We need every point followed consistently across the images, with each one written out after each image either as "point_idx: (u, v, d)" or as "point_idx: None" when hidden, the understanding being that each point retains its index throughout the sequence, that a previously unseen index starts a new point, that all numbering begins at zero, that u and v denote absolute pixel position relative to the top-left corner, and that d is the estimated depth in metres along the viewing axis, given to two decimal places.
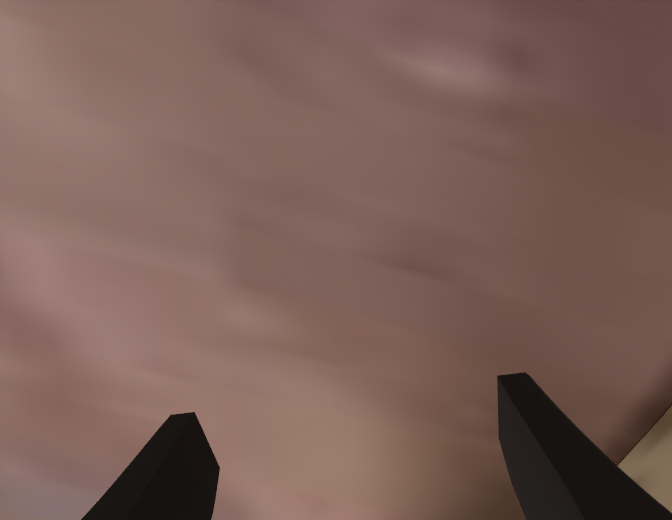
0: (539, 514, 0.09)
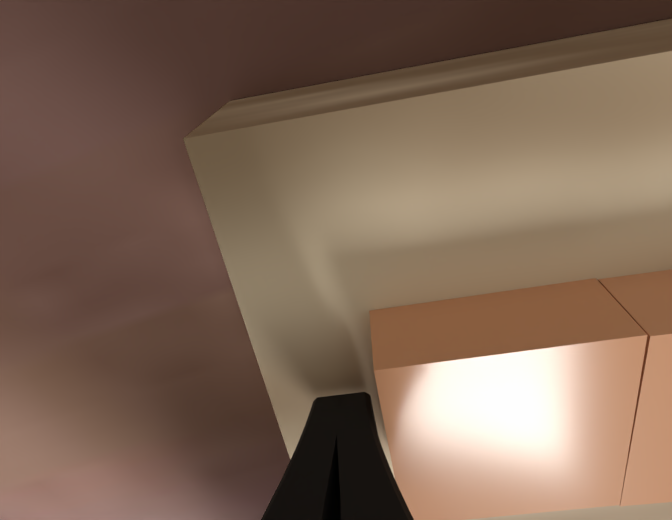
0: None
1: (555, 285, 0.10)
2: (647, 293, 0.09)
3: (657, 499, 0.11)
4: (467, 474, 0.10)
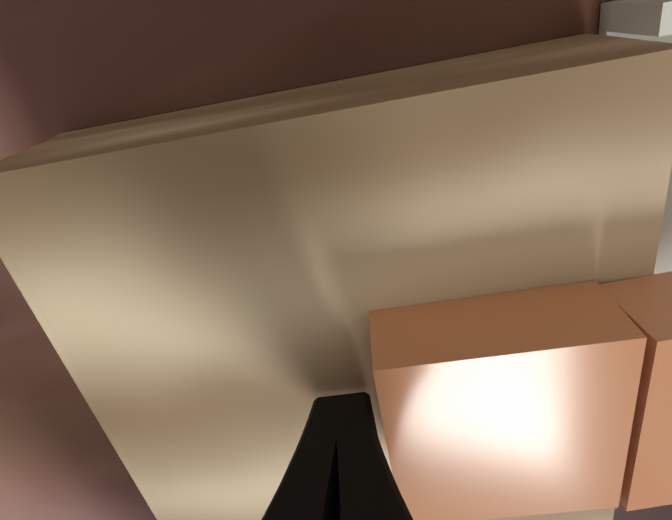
0: None
1: (555, 288, 0.10)
2: (647, 297, 0.09)
3: (662, 502, 0.11)
4: (465, 475, 0.10)
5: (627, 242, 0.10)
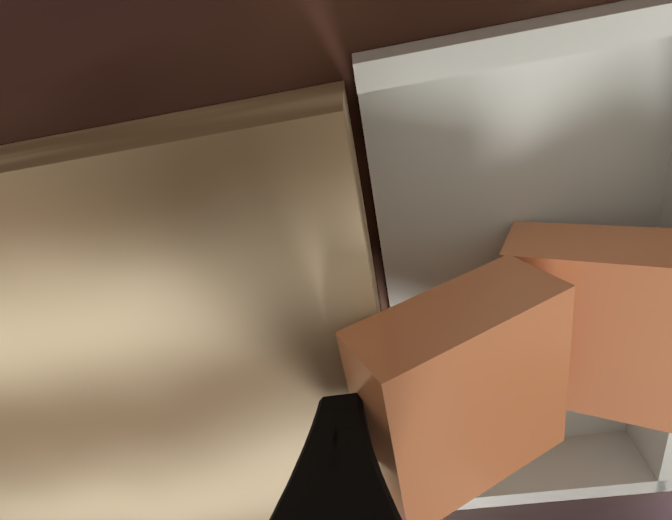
0: None
1: (482, 267, 0.12)
2: None
3: None
4: (460, 461, 0.11)
5: (342, 283, 0.10)
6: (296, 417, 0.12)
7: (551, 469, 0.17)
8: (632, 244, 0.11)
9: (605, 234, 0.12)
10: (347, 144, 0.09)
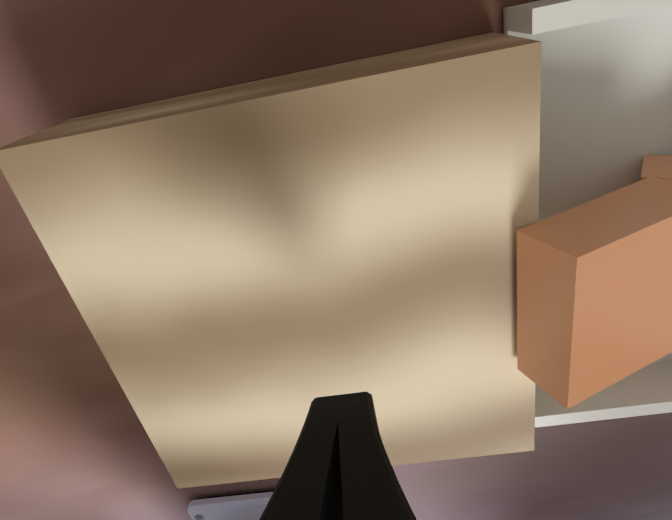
0: None
1: (630, 186, 0.14)
2: None
3: None
4: (615, 342, 0.13)
5: (514, 195, 0.12)
6: (452, 322, 0.15)
7: (645, 387, 0.19)
8: None
9: None
10: (539, 70, 0.11)
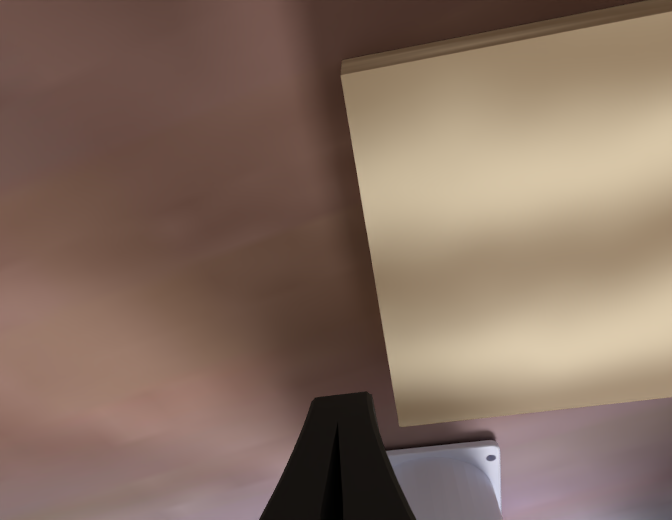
0: None
1: None
2: None
3: None
4: None
5: None
6: None
7: None
8: None
9: None
10: None
